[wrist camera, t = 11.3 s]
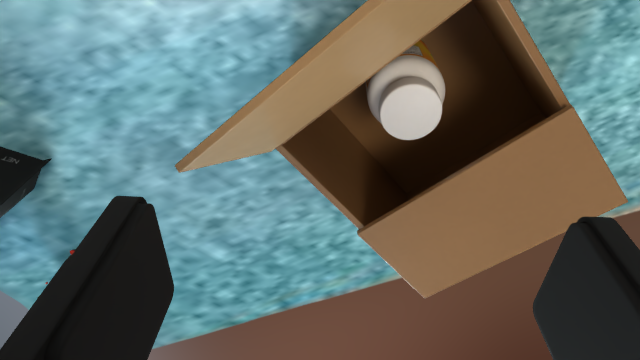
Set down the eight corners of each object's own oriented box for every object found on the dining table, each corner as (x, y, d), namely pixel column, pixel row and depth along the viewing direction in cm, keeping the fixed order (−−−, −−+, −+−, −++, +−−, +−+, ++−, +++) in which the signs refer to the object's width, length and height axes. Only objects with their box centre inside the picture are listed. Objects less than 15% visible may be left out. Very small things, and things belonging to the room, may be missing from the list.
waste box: (291, 71, 37) (268, 151, 26) (443, -58, 31) (498, -25, 20) (404, 195, 44) (424, 299, 33) (546, 110, 38) (629, 202, 27)
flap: (271, 151, 26) (267, 146, 26) (498, -22, 20) (493, -30, 20) (178, 173, 18) (174, 165, 18) (502, -99, 12) (494, -109, 12)
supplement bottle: (427, 90, 37) (451, 147, 29) (364, 94, 37) (370, 152, 29) (431, 25, 34) (458, 69, 26) (362, 31, 34) (367, 76, 26)
